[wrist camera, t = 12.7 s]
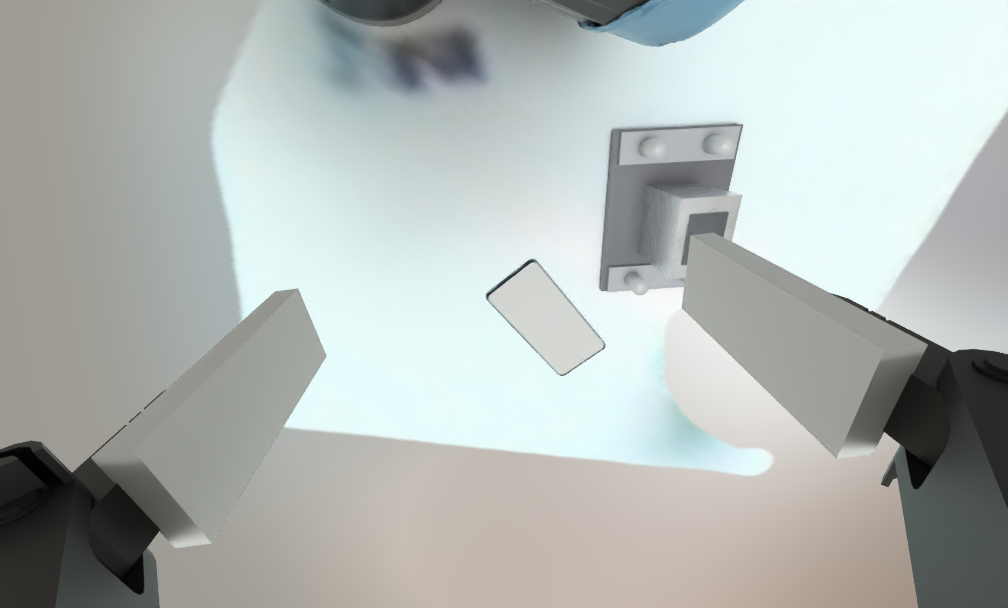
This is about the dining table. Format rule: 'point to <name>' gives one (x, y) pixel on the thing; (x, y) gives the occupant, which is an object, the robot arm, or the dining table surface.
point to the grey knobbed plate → (647, 163)
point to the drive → (683, 222)
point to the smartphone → (545, 318)
